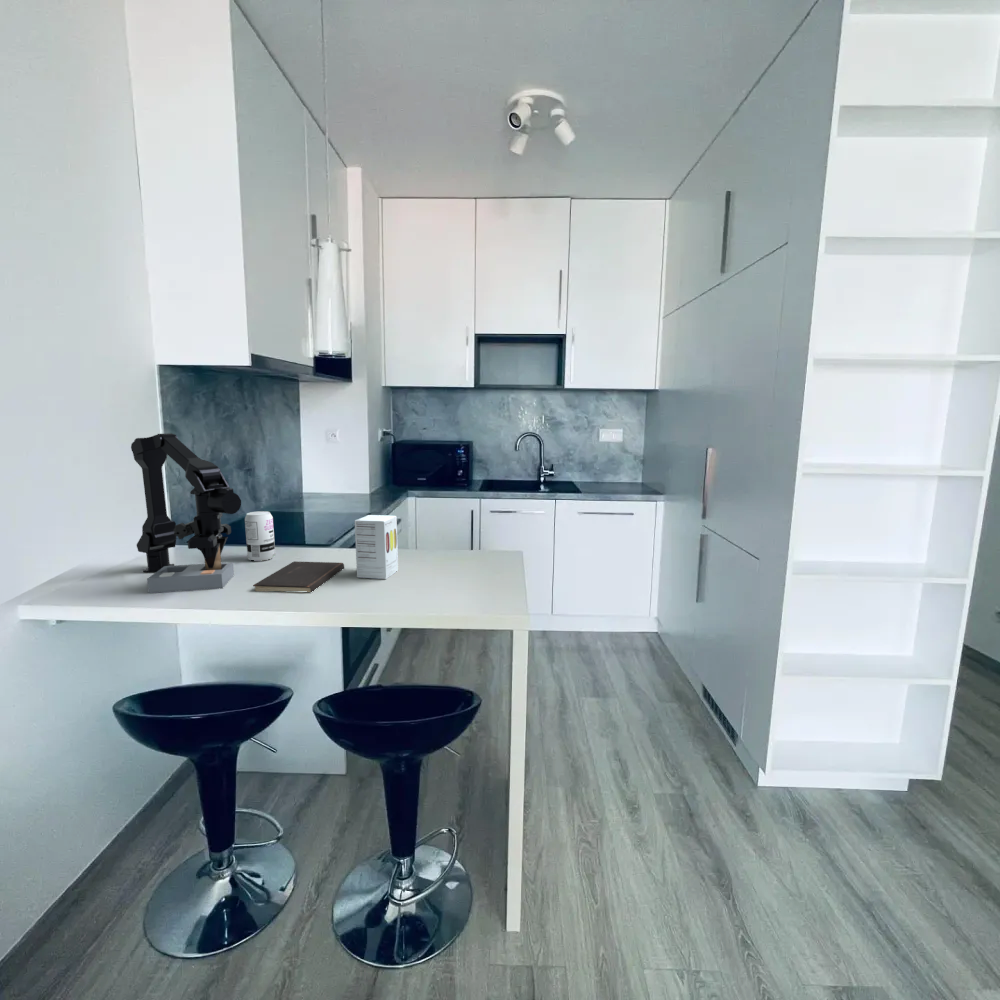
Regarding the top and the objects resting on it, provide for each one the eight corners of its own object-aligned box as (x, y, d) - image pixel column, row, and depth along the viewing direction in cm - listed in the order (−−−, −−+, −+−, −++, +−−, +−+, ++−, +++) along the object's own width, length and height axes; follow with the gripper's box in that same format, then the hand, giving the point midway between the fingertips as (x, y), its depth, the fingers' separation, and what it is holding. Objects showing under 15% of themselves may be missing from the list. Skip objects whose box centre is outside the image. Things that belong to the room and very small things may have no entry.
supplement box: (386, 579, 155) (384, 521, 152) (356, 578, 157) (353, 520, 154) (399, 570, 164) (397, 515, 161) (370, 568, 166) (368, 514, 163)
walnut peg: (208, 570, 155) (205, 543, 154) (223, 570, 156) (221, 542, 155) (203, 575, 152) (201, 546, 150) (219, 574, 152) (217, 546, 151)
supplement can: (248, 556, 180) (245, 511, 178) (275, 554, 183) (272, 510, 180) (247, 563, 173) (243, 516, 170) (275, 560, 175) (271, 514, 173)
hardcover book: (253, 593, 146) (252, 584, 145) (294, 568, 168) (293, 561, 168) (311, 595, 144) (310, 586, 144) (344, 570, 166) (344, 562, 166)
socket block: (166, 579, 156) (164, 565, 155) (234, 575, 159) (233, 561, 159) (148, 593, 144) (147, 577, 144) (222, 588, 148) (221, 572, 147)
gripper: (187, 506, 158) (192, 558, 161) (163, 518, 140) (169, 577, 143) (229, 504, 161) (233, 556, 163) (210, 516, 143) (215, 574, 145)
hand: (213, 565), depth 154 cm, fingers closed on walnut peg, 4 cm apart
